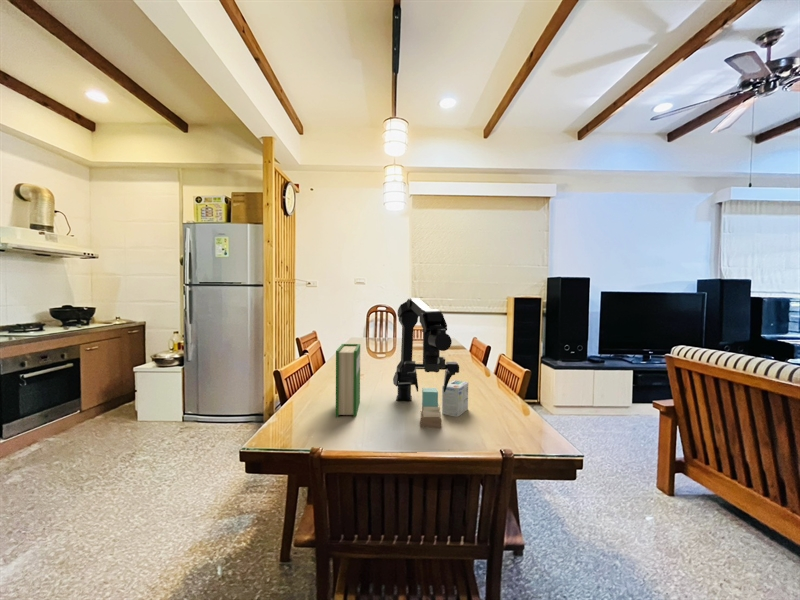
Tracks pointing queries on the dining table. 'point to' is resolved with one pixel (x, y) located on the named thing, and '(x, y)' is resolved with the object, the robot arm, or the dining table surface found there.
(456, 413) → the light bulb box
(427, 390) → the teal cube
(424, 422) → the walnut slab
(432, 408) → the maple block
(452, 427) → the dining table surface
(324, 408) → the dining table surface
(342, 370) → the hardback book
